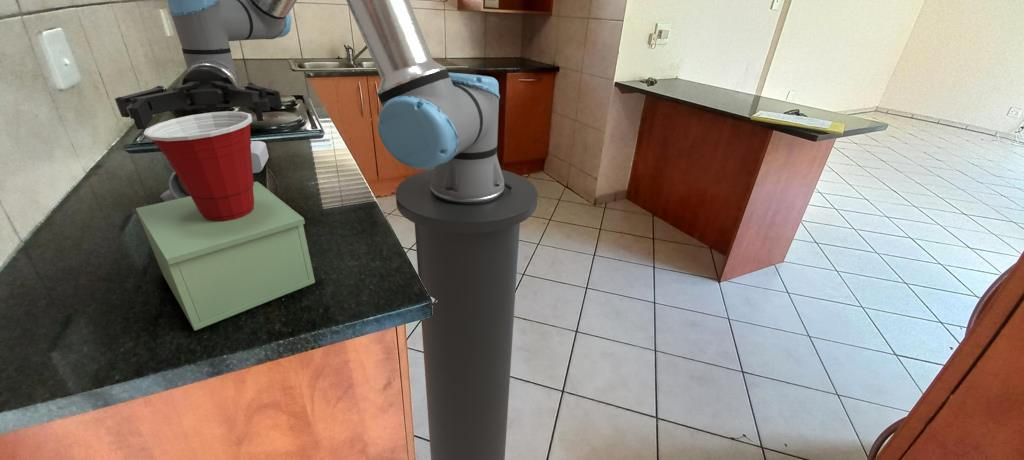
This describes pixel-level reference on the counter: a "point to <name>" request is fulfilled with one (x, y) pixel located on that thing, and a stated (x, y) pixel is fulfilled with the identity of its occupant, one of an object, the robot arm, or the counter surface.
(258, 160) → the charger
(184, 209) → the bin lid
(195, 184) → the plastic cup
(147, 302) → the counter surface
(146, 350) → the counter surface
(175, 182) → the ceramic mug
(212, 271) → the bin
